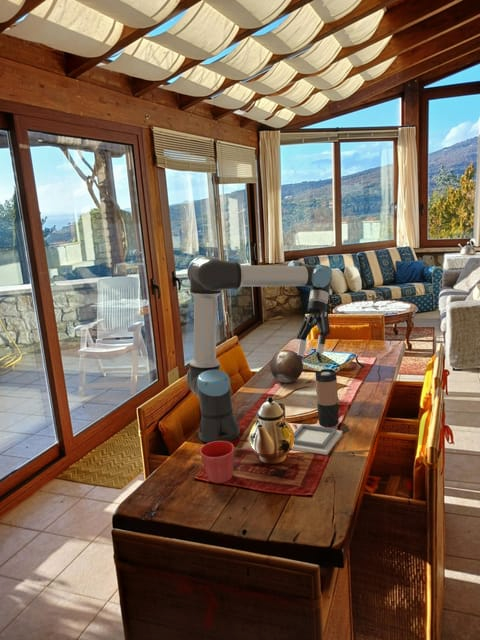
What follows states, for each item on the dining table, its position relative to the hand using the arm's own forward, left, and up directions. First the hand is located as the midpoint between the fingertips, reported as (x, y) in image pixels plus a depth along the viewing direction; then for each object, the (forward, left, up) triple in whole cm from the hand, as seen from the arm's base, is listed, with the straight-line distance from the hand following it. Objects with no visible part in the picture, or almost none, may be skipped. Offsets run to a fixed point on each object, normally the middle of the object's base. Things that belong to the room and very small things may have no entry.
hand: (309, 354), depth 202 cm
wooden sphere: (-22, +26, -23) cm, 41 cm away
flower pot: (-8, -58, -23) cm, 63 cm away
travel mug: (+11, -11, -23) cm, 28 cm away
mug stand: (+10, -26, -23) cm, 36 cm away
